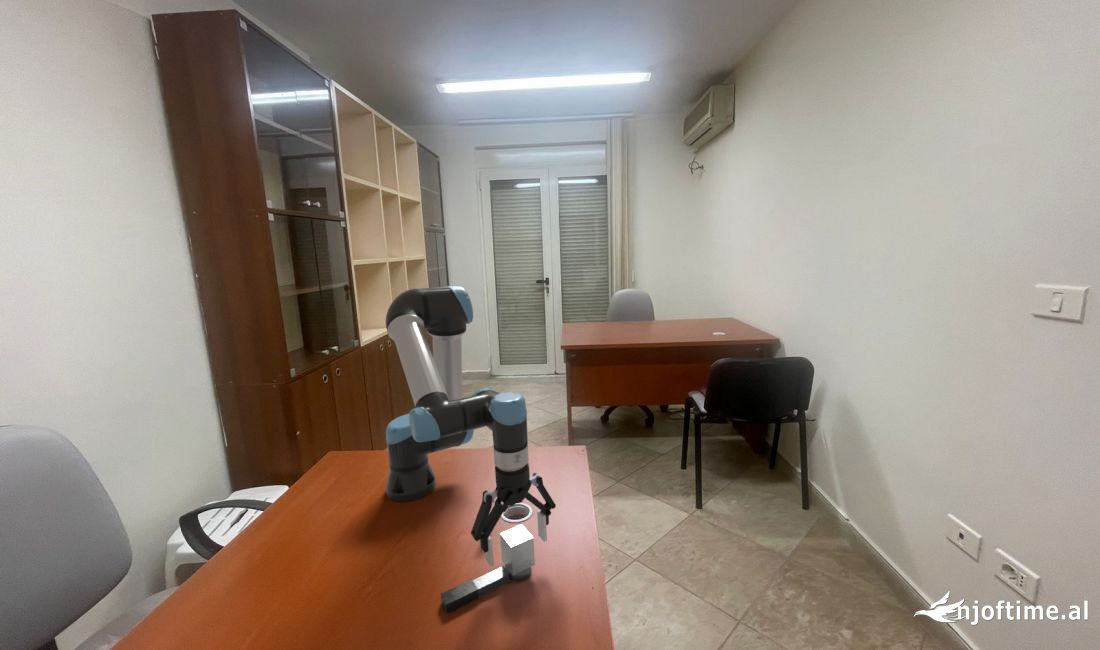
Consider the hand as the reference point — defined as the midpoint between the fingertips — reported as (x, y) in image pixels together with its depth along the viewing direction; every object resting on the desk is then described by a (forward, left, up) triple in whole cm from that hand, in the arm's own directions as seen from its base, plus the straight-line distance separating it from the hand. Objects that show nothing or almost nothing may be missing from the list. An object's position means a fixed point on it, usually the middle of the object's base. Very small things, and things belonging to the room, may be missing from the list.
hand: (517, 549), depth 93 cm
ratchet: (0, -7, -6) cm, 9 cm away
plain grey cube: (0, 0, -3) cm, 3 cm away
